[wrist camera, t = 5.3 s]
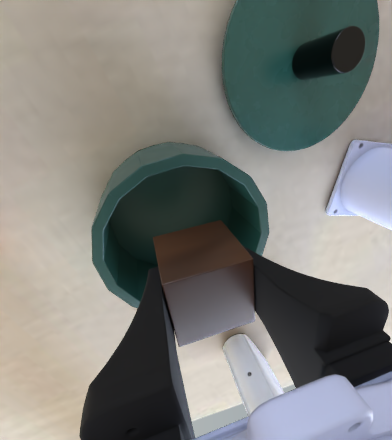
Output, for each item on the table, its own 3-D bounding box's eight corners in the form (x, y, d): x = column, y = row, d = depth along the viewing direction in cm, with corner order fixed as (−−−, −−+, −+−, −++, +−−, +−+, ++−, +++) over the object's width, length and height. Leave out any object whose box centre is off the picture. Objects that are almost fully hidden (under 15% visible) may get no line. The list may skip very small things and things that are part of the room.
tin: (225, 124, 19) (260, 130, 14) (243, 244, 25) (273, 279, 20) (74, 167, 18) (51, 192, 12) (132, 284, 23) (133, 334, 18)
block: (220, 219, 14) (253, 258, 10) (226, 272, 16) (255, 321, 12) (152, 236, 13) (161, 285, 10) (166, 290, 15) (179, 347, 12)
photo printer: (216, 344, 31) (263, 470, 20) (243, 327, 31) (304, 444, 20) (245, 374, 36) (295, 488, 25) (268, 360, 36) (328, 467, 25)
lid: (377, -68, 16) (472, -135, 12) (357, 127, 22) (414, 132, 18) (201, -34, 15) (234, -97, 10) (232, 166, 21) (261, 182, 16)
